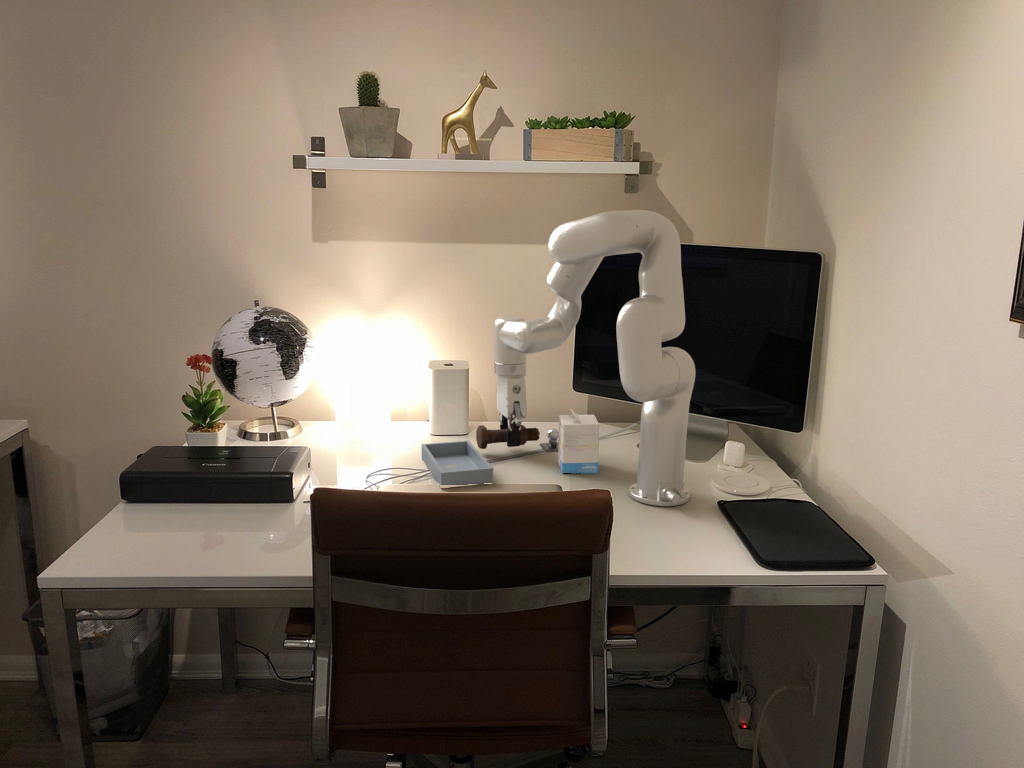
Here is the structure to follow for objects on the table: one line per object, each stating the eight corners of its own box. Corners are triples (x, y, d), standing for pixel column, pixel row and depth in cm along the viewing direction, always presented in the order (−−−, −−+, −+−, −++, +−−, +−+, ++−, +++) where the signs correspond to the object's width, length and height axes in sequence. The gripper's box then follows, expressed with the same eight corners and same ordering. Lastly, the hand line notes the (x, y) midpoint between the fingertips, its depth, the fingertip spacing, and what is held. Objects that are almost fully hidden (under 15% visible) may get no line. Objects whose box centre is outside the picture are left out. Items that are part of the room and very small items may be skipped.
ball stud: (565, 450, 203) (566, 430, 202) (546, 452, 201) (547, 432, 200) (558, 444, 207) (559, 425, 206) (539, 445, 206) (540, 426, 205)
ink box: (598, 474, 187) (601, 417, 184) (561, 474, 186) (563, 417, 183) (592, 461, 195) (594, 406, 192) (557, 461, 194) (558, 406, 191)
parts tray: (492, 484, 179) (492, 468, 178) (441, 488, 176) (441, 472, 175) (468, 454, 198) (468, 440, 197) (421, 458, 195) (421, 444, 194)
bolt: (538, 449, 202) (479, 453, 197) (533, 435, 205) (474, 438, 201) (543, 432, 198) (483, 436, 194) (537, 418, 202) (478, 421, 197)
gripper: (537, 375, 189) (536, 451, 193) (514, 361, 205) (514, 432, 209) (505, 377, 187) (505, 454, 191) (485, 363, 203) (485, 434, 207)
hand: (510, 442), depth 200 cm, fingers closed on bolt, 4 cm apart
